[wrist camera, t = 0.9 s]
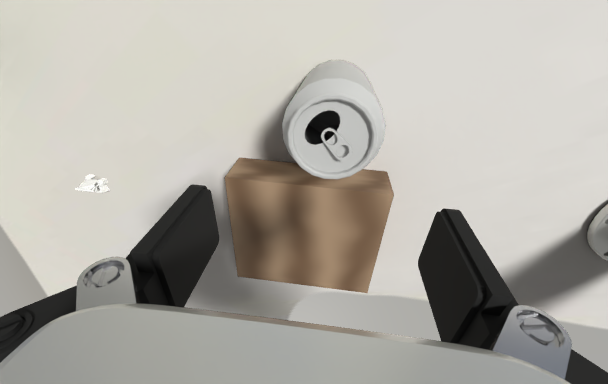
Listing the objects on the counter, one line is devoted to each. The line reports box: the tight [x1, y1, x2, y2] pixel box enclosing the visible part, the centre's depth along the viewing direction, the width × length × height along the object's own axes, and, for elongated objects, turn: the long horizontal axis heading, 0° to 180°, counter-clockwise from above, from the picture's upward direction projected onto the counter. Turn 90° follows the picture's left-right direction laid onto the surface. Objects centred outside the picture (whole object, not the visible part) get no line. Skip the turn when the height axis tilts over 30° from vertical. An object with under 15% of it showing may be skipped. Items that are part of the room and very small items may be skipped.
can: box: [282, 60, 386, 179], centre depth 23 cm, size 8×8×12 cm
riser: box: [225, 158, 394, 293], centre depth 35 cm, size 18×16×5 cm
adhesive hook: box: [75, 174, 110, 192], centre depth 37 cm, size 3×3×3 cm
